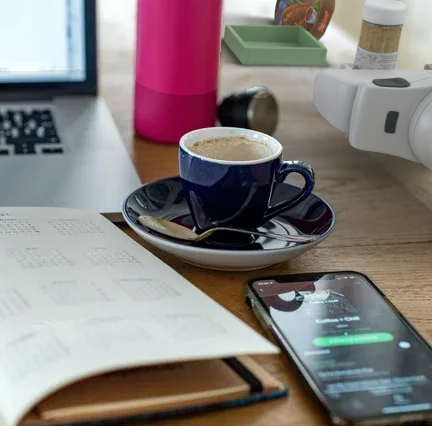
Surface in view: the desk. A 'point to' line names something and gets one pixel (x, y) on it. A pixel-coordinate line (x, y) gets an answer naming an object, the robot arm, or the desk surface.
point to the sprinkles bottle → (380, 34)
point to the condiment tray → (274, 45)
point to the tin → (305, 14)
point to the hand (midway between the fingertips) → (387, 70)
